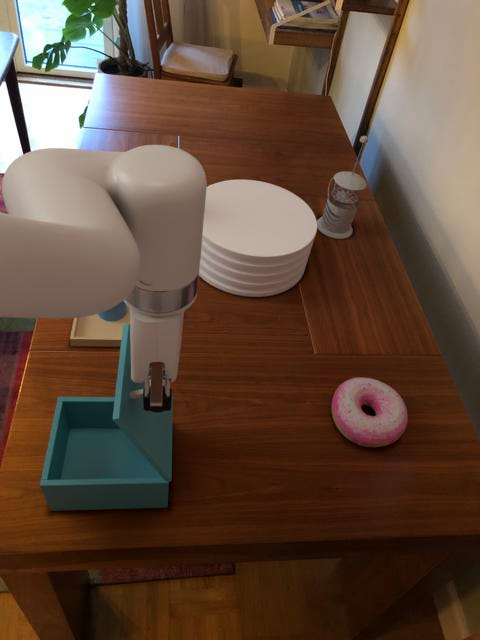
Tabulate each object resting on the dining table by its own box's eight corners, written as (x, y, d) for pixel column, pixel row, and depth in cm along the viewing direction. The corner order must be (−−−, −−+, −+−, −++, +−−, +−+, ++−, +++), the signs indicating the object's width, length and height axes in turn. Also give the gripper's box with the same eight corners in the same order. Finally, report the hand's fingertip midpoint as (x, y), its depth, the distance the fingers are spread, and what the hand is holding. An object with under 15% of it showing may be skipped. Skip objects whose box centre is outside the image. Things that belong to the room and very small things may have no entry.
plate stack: (328, 276, 111) (342, 237, 103) (224, 312, 99) (231, 271, 91) (264, 210, 126) (272, 171, 117) (167, 233, 114) (168, 192, 105)
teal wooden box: (50, 510, 68) (39, 485, 62) (66, 426, 77) (58, 396, 71) (167, 507, 71) (168, 482, 64) (169, 426, 80) (170, 397, 73)
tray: (143, 347, 90) (143, 340, 89) (71, 346, 88) (69, 338, 86) (147, 284, 101) (147, 277, 100) (83, 282, 99) (82, 274, 98)
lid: (112, 419, 51) (158, 410, 50) (122, 324, 60) (162, 316, 60) (165, 482, 64) (203, 475, 63) (168, 396, 73) (200, 389, 72)
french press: (326, 240, 120) (356, 148, 102) (307, 213, 127) (332, 122, 109) (359, 236, 123) (395, 146, 105) (339, 210, 130) (369, 121, 112)
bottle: (104, 325, 92) (98, 279, 83) (93, 306, 95) (86, 260, 86) (131, 315, 94) (128, 270, 85) (119, 297, 97) (116, 252, 88)
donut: (391, 389, 91) (401, 374, 87) (409, 454, 82) (421, 440, 78) (323, 385, 90) (330, 369, 86) (334, 450, 81) (342, 436, 77)
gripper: (126, 221, 51) (132, 331, 64) (109, 348, 39) (121, 449, 52) (196, 225, 52) (188, 332, 65) (200, 349, 40) (189, 449, 54)
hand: (158, 384), depth 59 cm, fingers closed on lid, 6 cm apart
